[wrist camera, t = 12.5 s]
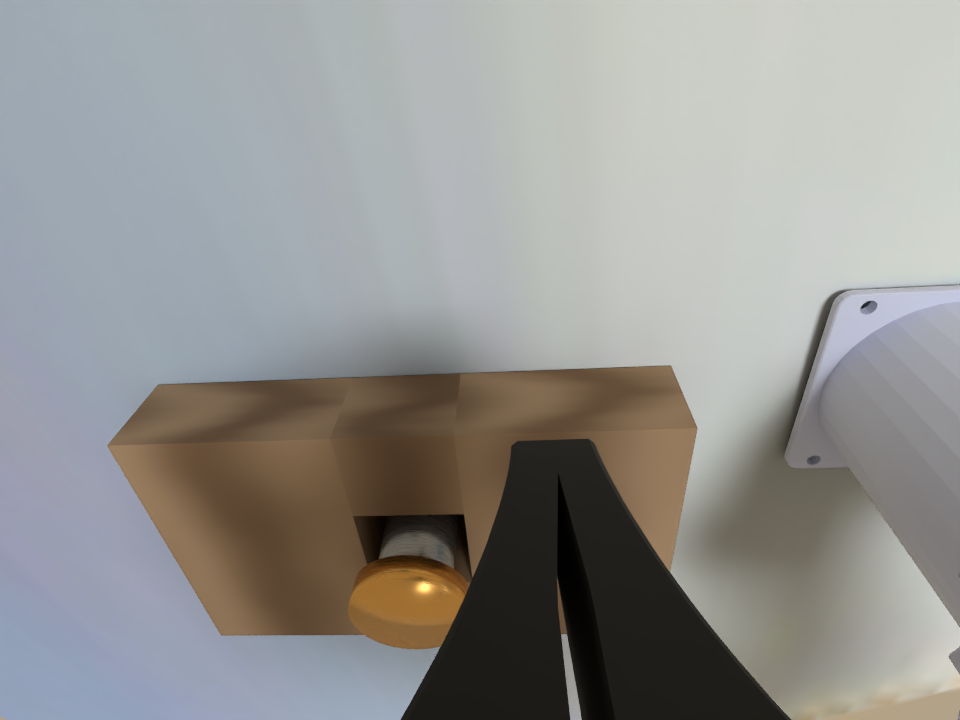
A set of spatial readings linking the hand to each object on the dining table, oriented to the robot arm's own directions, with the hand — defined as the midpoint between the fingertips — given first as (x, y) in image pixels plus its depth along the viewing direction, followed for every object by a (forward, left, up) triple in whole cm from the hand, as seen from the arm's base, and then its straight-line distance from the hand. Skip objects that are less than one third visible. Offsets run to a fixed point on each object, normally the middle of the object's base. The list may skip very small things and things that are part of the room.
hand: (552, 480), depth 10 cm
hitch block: (+5, +11, -10) cm, 16 cm away
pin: (+5, +12, -10) cm, 16 cm away
